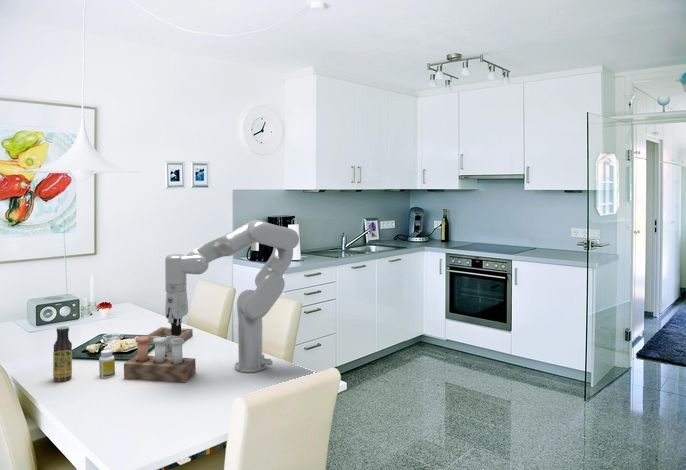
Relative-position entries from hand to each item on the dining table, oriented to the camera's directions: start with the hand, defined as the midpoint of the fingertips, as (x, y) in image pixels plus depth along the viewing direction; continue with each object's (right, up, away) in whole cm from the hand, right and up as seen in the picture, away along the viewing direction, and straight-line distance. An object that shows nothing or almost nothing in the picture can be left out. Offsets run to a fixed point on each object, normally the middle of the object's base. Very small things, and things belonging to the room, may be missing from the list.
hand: (176, 334), depth 198 cm
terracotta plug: (-14, -12, +3) cm, 18 cm away
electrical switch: (-11, -15, +22) cm, 29 cm away
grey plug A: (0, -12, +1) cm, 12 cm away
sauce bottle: (-42, -17, -2) cm, 45 cm away
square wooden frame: (-18, -11, +47) cm, 52 cm away
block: (-7, -16, +3) cm, 18 cm away
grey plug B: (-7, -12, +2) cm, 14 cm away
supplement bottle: (-27, -16, +2) cm, 32 cm away
